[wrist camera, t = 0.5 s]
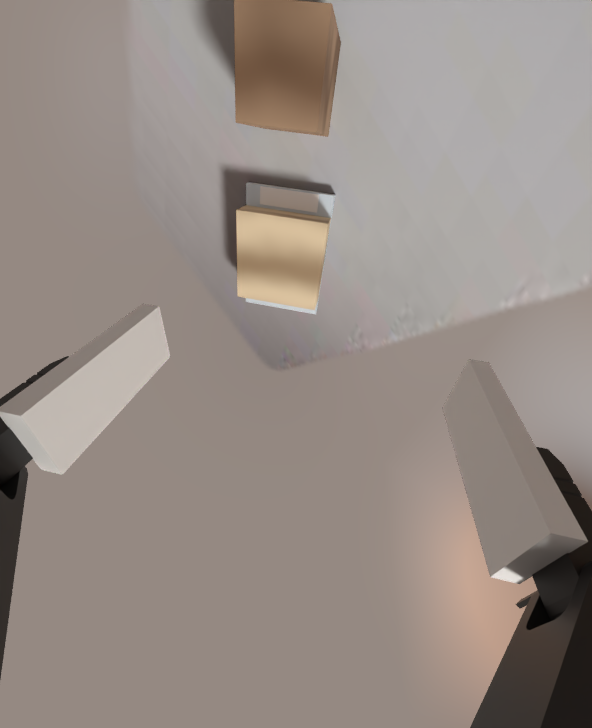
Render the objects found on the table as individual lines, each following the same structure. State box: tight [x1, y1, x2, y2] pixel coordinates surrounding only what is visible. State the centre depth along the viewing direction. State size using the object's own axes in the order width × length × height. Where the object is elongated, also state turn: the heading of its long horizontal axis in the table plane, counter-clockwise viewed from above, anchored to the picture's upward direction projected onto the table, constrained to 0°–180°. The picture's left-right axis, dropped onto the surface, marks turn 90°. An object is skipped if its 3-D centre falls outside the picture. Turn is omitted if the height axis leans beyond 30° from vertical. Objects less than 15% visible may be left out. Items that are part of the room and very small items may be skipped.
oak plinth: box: [236, 205, 331, 310], centre depth 32 cm, size 9×9×3 cm
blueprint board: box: [246, 182, 335, 314], centre depth 34 cm, size 13×9×1 cm
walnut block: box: [234, 0, 341, 137], centre depth 23 cm, size 6×6×8 cm
